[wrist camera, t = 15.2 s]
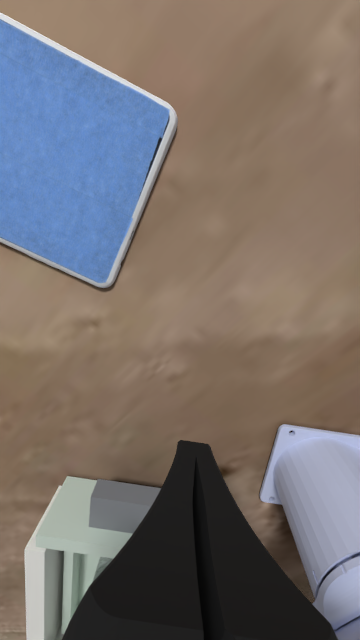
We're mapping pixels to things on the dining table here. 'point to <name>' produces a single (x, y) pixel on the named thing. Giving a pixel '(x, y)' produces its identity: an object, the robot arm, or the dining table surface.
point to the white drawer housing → (43, 588)
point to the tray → (91, 529)
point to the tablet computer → (73, 155)
